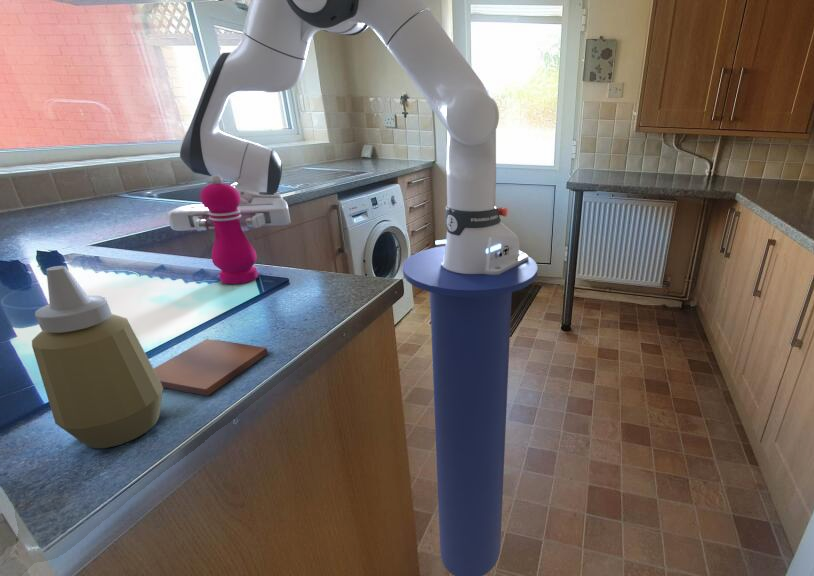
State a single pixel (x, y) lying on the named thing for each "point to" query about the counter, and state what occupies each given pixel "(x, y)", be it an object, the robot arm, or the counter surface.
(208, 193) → the pepper mill
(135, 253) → the counter surface
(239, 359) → the walnut cutting board
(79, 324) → the squeeze bottle
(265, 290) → the counter surface
